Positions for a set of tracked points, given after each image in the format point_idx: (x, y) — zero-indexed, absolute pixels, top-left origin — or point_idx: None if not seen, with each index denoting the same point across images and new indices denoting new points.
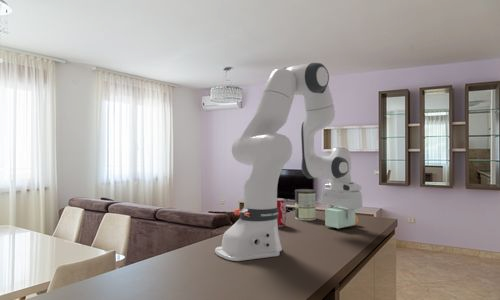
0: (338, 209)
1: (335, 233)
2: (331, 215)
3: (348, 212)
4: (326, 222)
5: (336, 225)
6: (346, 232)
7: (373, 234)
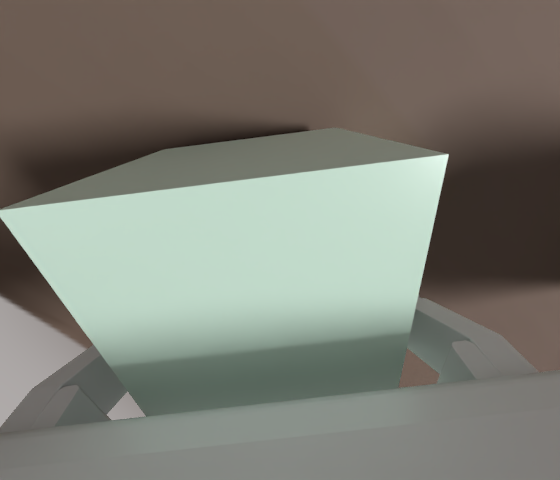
0: (220, 338)
1: (67, 30)
2: (234, 159)
3: (87, 361)
4: (326, 132)
5: (178, 150)
6: (100, 170)
7: (17, 289)
